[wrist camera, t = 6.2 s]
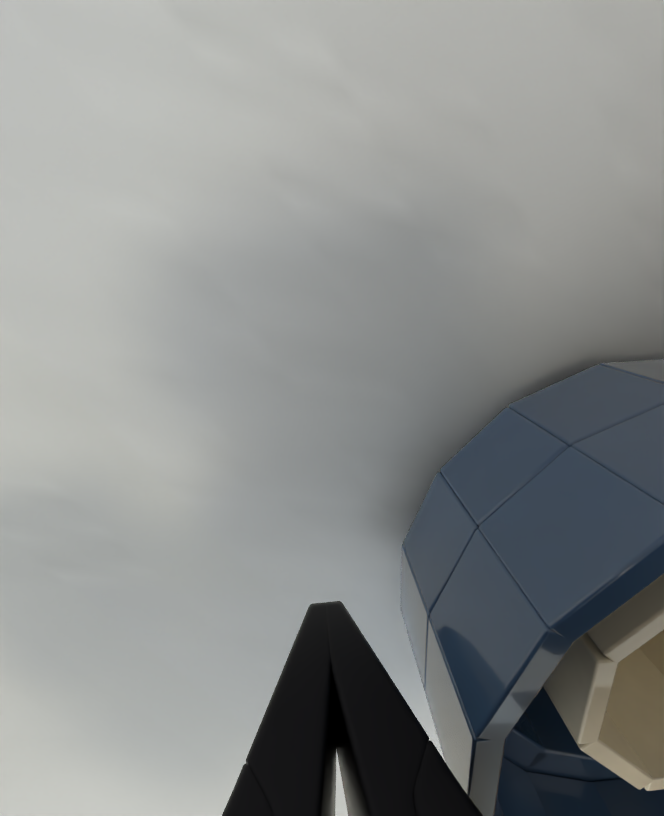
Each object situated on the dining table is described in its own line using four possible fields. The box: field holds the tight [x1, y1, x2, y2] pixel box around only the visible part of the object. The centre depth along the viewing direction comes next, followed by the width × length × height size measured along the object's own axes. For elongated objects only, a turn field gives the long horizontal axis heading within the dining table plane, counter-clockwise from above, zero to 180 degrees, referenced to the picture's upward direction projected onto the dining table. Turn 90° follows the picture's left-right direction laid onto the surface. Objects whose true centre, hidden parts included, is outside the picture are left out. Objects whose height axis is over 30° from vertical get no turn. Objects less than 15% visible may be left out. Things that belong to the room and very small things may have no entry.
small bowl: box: [543, 574, 664, 791], centre depth 9 cm, size 6×6×3 cm
